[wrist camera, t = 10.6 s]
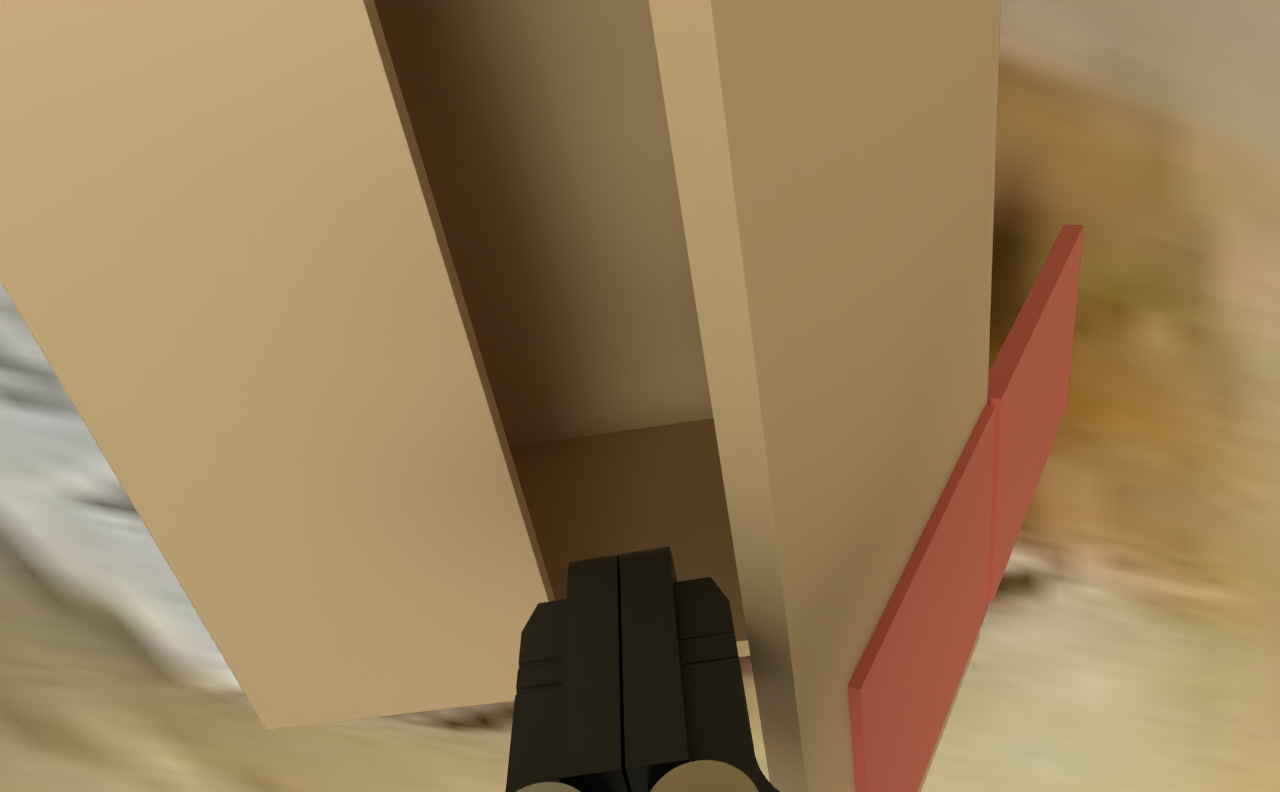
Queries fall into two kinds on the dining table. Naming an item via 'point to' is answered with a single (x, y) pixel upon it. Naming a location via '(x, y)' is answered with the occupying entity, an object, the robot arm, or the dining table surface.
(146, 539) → the dining table surface
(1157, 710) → the dining table surface
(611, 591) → the robot arm
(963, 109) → the flap
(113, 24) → the carton
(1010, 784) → the dining table surface
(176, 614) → the dining table surface
